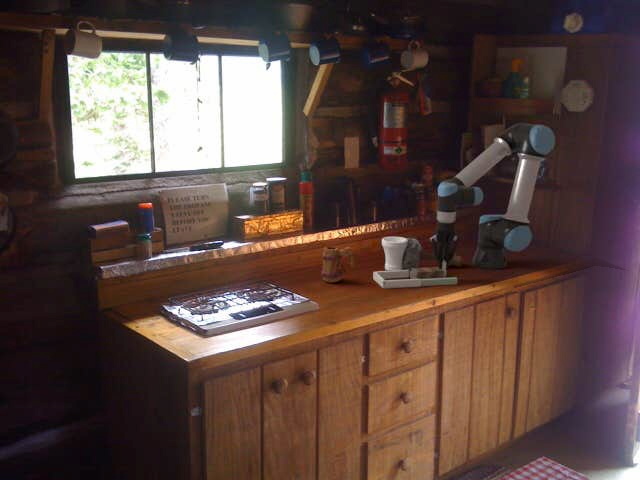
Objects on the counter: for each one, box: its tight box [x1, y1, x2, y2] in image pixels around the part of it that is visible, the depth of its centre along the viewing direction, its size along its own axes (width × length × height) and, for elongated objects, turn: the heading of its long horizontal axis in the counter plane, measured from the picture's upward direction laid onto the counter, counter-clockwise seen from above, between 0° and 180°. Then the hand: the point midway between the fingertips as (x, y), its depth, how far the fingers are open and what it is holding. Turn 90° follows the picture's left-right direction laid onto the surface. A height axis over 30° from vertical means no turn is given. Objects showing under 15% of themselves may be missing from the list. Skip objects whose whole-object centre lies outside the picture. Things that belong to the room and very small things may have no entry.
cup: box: [381, 236, 408, 271], centre depth 302 cm, size 11×11×14 cm
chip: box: [425, 266, 445, 279], centre depth 290 cm, size 6×6×5 cm
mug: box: [320, 245, 356, 283], centre depth 285 cm, size 15×8×15 cm, turn 70°
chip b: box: [410, 267, 430, 279], centre depth 289 cm, size 6×6×5 cm
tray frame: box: [372, 270, 421, 289], centre depth 287 cm, size 16×14×3 cm
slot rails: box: [409, 271, 458, 287], centre depth 291 cm, size 16×13×2 cm
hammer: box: [401, 237, 463, 272], centre depth 308 cm, size 15×10×30 cm
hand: (442, 276), depth 292 cm, fingers closed
